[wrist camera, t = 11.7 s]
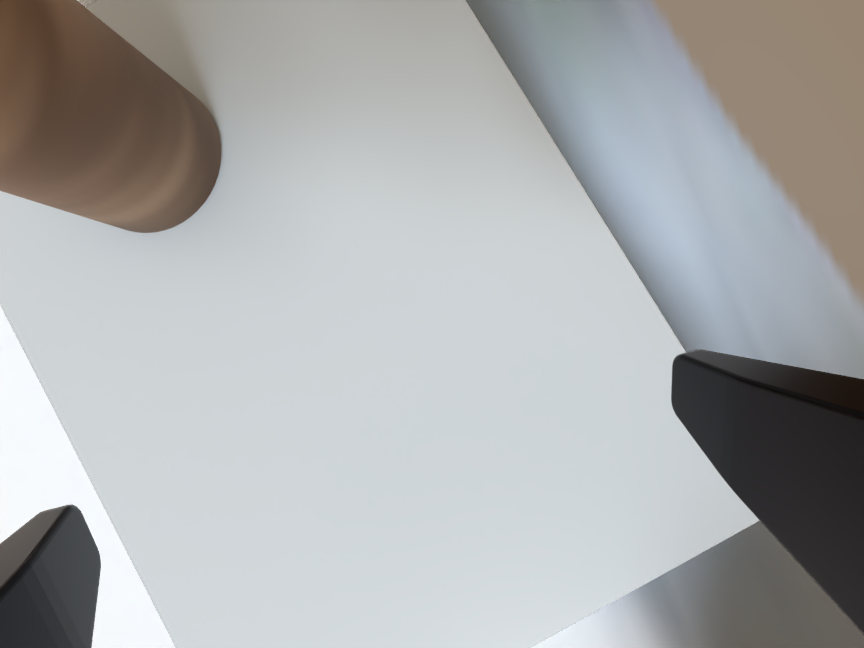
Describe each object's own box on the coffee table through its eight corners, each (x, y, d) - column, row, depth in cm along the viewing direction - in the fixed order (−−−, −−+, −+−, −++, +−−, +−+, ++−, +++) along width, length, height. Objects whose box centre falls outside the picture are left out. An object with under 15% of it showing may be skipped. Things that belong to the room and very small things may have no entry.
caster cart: (723, 477, 20) (783, 507, 16) (299, 714, 20) (254, 801, 16) (383, -73, 22) (359, -169, 18) (9, 164, 22) (-94, 122, 19)
